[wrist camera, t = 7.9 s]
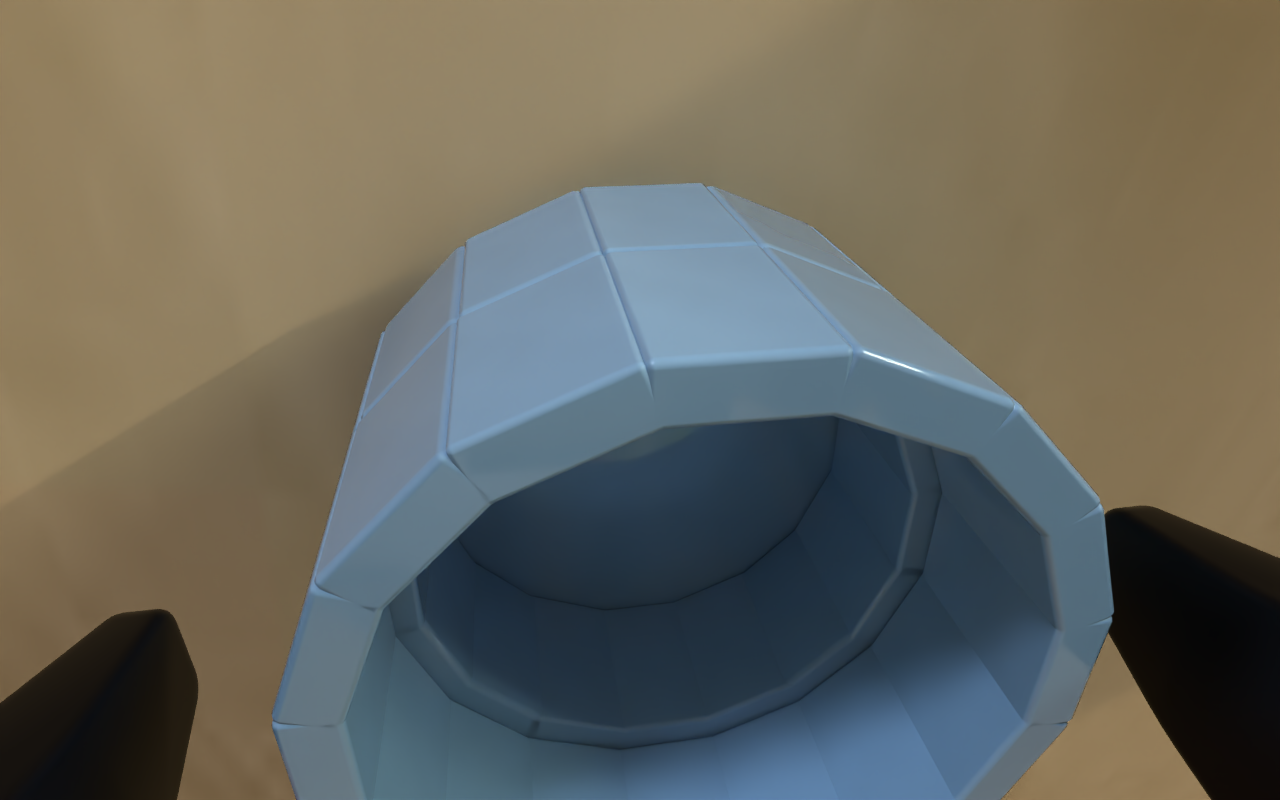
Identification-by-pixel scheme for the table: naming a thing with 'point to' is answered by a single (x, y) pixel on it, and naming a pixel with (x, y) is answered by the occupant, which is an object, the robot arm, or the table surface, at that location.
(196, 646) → the table surface
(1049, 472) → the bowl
